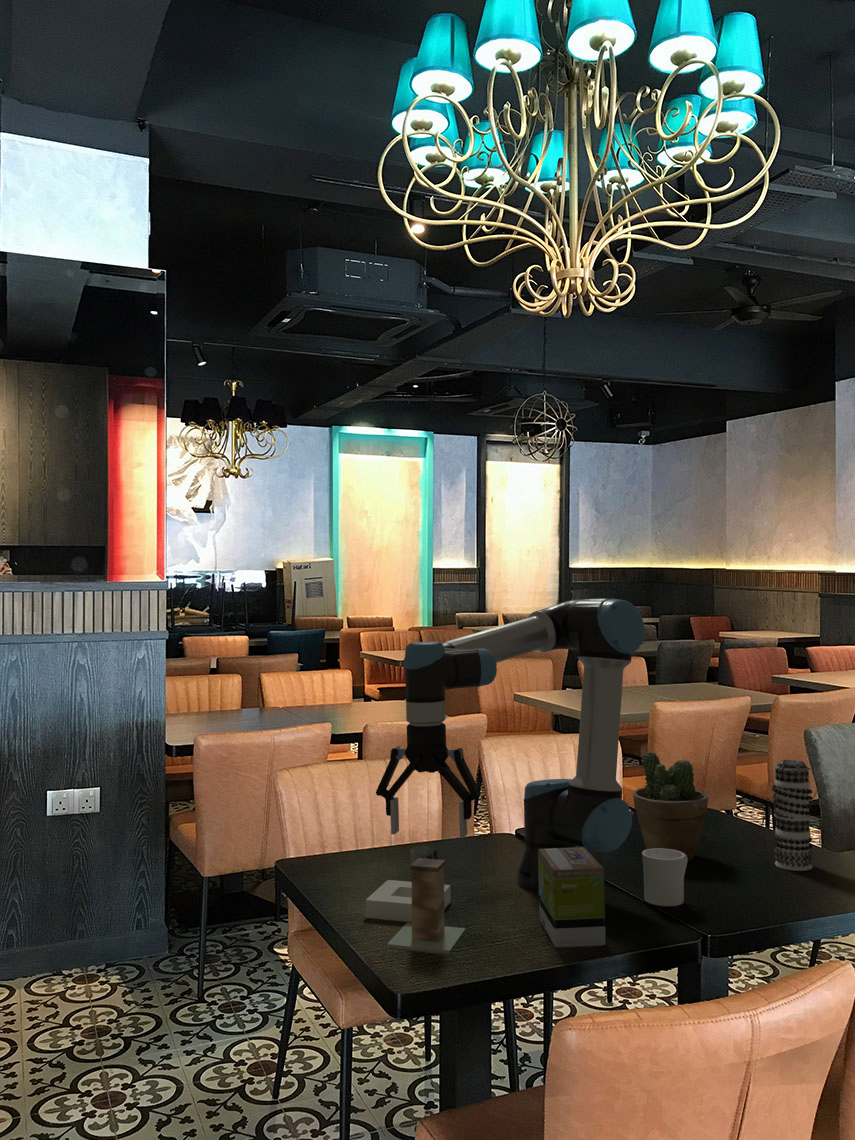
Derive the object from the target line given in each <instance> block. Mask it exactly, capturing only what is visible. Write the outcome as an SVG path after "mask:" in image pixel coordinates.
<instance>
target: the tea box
mask: <svg viewBox="0 0 855 1140" xmlns="http://www.w3.org/2000/svg"><path fill="white" fill-rule="evenodd" d="M538 868H539V891H538V901H539V903H538V908H539V912H538V913H539V914H538V915H539V920H540V923H541V924H542V926H543V929H544V931H545V932H546V933H547V935H548V937H549V939H550V941H551V942H552V944H553V946H554V947H555V948H578V947H579V948H581V947H599V946H606V902H605V900H606V899H605V894H606V892H605V891H606V890H605V868H604V867H603V866H602V865H601V864H600V863H599V861H598V860H597V859H596V858H595V857H594V856H593V855H592V854H591V853H590V852H589V851H588V849H586V848H585V847H581V846H576V847H572V848H551V849H538Z"/></svg>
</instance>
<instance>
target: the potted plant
mask: <svg viewBox="0 0 855 1140" xmlns="http://www.w3.org/2000/svg"><path fill="white" fill-rule="evenodd" d="M641 758H642V759H641V763H642V767H643V768H644V774H645V779H644V780H645V784H646V785H644V787H640V788H637V789H636V790H634V791H633V792H632V798H633V808H634V810H635V812H636V814H637V818H638V822H639V823H638V824H639V827H640V833H641V836H642V840H643V843H644V846H645V850H647V849H654V848H663V849H672V850H677V851H680V852H682V853H684V854H685V855H687V858H688V862H690V861H691V860H693V859H694V858H695V855H696V851H697V847H698V844H699V841H700V838H701V833H702V828H703V825H704V824H703V823H704V818H705V816H706V814H707V812H708V804H709V802H708V801H709V795H708V794H707V793H705V792H703V791H700V790H696V786H695V784H694V782H695V780H694V777H695V773H694V772H693V771H694V766H693V764H692V763H691V762H690V761H689V760H688V759H679V760H677V761H676V762H674V763H673V765H671V766H669V768H668V769H666V766H665V765H664V764H662V763H661V762H660V757H659V756H658V755H657V753H656V752H651V751H649V752H645V753H644V754H642V756H641Z"/></svg>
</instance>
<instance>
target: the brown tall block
mask: <svg viewBox="0 0 855 1140" xmlns="http://www.w3.org/2000/svg"><path fill="white" fill-rule="evenodd" d="M445 865H446V859H439V860H438V859H425V858H418V859H417V860H416V861H415V862H414V863H413V864H411V865H410V864H409V867H410V868H409V870H410V871H411V870H412V871H411V882H412V922H411V923H412V940H422V941H432V942H438V941H439V939H440V938H441V937H442V935H443V934H444V926H445V909H444V885H445Z"/></svg>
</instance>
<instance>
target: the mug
mask: <svg viewBox="0 0 855 1140" xmlns="http://www.w3.org/2000/svg"><path fill="white" fill-rule="evenodd" d="M641 856H642V865H643V888H644V895H643V896H644V903H645V902H646V903H647V904H646V903H645V904H646V905H648V906H649V905H650V907H652V906H655V907H654V908H656V907H662V908H674V909H676V908H675V907H679V908H681V907H683V905H684V902H685V901H684V900H685V898H684V897H685V895H684V894H685V893H684V892H685V889H684V887H685V886H684V885H685V874H686V869H687V865H688V862H689V861H688V858H687V855H685V854H684V853H682V852H680V851H677V850H672V849H663V848H654V849H644V850H643V851H642V852H641ZM680 906H681V907H680ZM662 908H661V909H662Z"/></svg>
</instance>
